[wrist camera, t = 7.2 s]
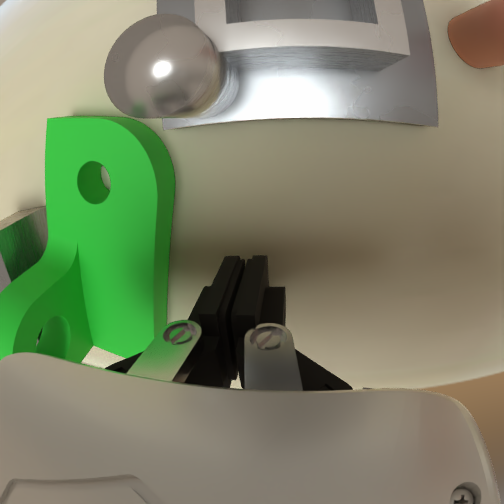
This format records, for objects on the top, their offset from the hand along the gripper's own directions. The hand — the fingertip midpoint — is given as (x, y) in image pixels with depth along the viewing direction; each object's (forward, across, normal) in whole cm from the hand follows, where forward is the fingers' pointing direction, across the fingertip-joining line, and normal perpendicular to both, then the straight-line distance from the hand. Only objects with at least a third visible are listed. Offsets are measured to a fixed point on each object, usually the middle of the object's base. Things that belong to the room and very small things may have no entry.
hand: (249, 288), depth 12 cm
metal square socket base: (+1, -2, -11) cm, 11 cm away
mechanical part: (+2, +7, -2) cm, 7 cm away
